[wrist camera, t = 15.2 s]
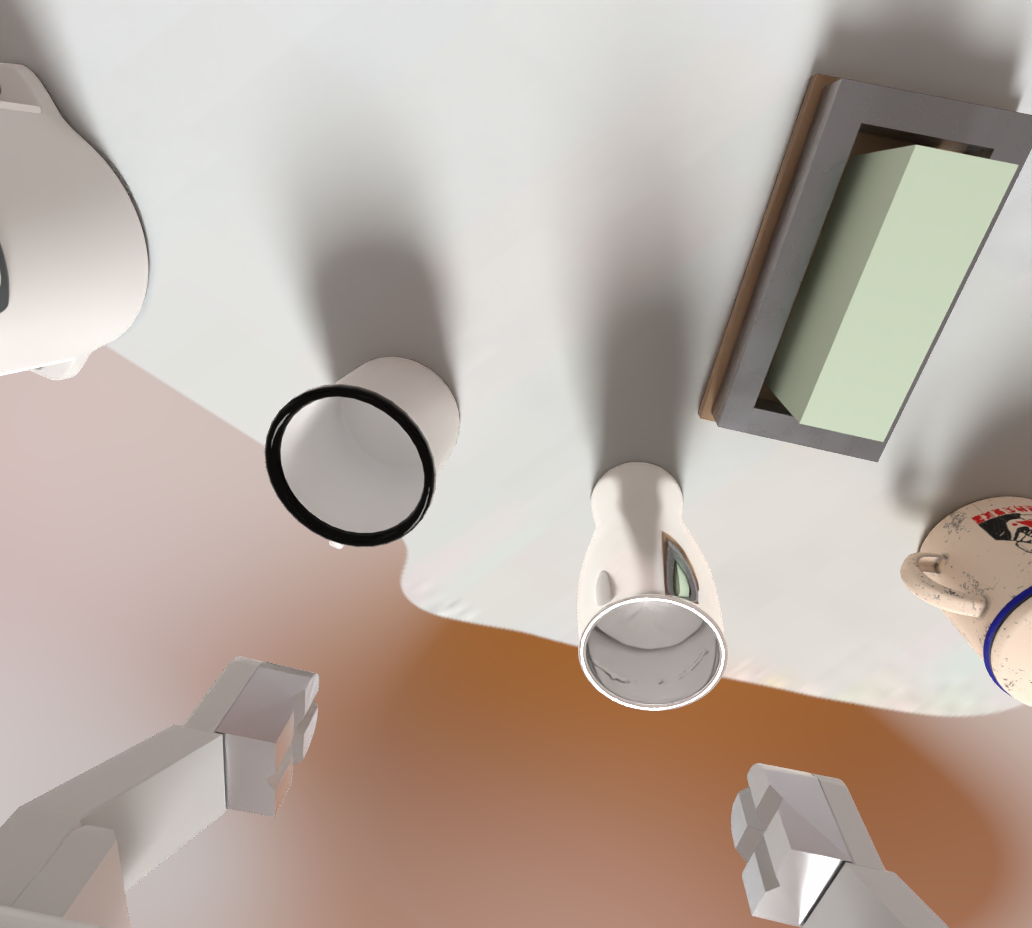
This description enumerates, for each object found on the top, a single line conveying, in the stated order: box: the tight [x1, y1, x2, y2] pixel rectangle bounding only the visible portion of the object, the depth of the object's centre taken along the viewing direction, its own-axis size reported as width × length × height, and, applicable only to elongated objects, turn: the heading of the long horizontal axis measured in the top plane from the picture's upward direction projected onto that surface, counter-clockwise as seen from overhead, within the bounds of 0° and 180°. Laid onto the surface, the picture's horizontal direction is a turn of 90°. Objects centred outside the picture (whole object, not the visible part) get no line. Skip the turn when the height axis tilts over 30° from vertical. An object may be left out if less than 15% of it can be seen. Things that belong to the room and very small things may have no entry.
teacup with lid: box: [900, 496, 1032, 707], centre depth 33 cm, size 12×9×12 cm
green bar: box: [765, 145, 1019, 442], centre depth 29 cm, size 12×4×7 cm, turn 169°
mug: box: [265, 357, 460, 549], centre depth 37 cm, size 12×10×9 cm
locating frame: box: [698, 74, 1032, 462], centre depth 32 cm, size 10×18×4 cm, turn 169°
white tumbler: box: [577, 462, 728, 711], centre depth 34 cm, size 7×7×15 cm
